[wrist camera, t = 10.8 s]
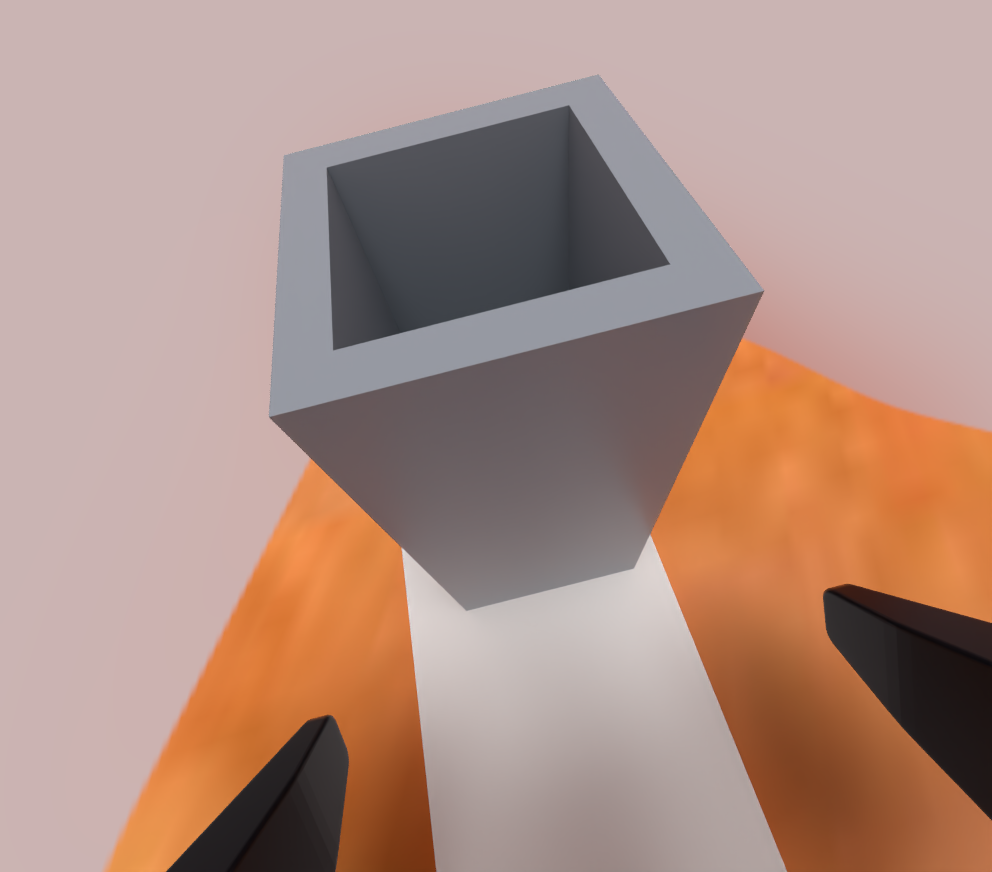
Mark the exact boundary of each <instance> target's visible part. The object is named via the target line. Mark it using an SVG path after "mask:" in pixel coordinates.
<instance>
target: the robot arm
mask: <svg viewBox="0 0 992 872" xmlns="http://www.w3.org/2000/svg"><path fill="white" fill-rule="evenodd" d="M823 602H824V613H825V623H826V630H827V633H828V636H829V638H830V640H831V641H832V643H833V644H834V645H835V647H836V648H837V649H838V650H839V651H840V653H841V654H842V655H843V656H844V658H845V659H846V660H847V661H848V662H849V664H850V665H851V666H852V667H853V669H854V670H855V671H856V672H857V673H858V675H859V676H860V677H861V678H862V680H863V681H864V682H865V683H866V684H867V686H868V687H869V688H870V689H871V691H872V692H873V693H874V694H875V695H876V697H877V698H878V699H879V700H880V702H881V703H882V704H883V705H884V706H885V708H886V709H887V710H888V711H889V712H890V714H891V715H892V716H893V717H894V718H895V719H896V721H897V722H898V723H899V724H900V725H901V726H902V727H903V729H904V730H905V731H906V732H907V733H908V734H909V735H910V736H911V737H912V738H913V739H914V740H915V741H916V742H917V743H918V744H919V746H920V747H921V748H922V749H923V750H924V751H925V752H926V753H927V754H928V755H929V756H930V757H931V758H932V759H933V760H934V761H935V762H936V763H937V764H938V765H939V766H940V767H941V768H942V769H943V770H944V771H945V772H946V773H947V774H948V776H949V777H950V778H951V779H952V780H953V781H954V782H955V783H956V784H957V785H958V786H959V787H960V788H961V789H962V790H963V791H964V792H965V793H966V794H967V795H968V796H969V797H970V798H971V799H972V800H973V801H974V802H975V803H976V804H977V806H978V807H979V808H980V809H981V810H982V811H983V812H984V813H985V814H986V815H987V816H988V817H989V818H990V819H991V820H992V623H989V622H986V621H982V620H978V619H975V618H971V617H968V616H964V615H960V614H957V613H953V612H949V611H946V610H942V609H939V608H935V607H931V606H928V605H924V604H921V603H917V602H913V601H910V600H906V599H902V598H899V597H895V596H892V595H888V594H884V593H881V592H877V591H873V590H870V589H866V588H863V587H859V586H855V585H852V584H844V585H840V586H836V587H832V588H828V589H826V590H825V591H824V594H823ZM348 766H349V757H348V751H347V748H346V745H345V743H344V740H343V738H342V735H341V733H340V730H339V728H338V725H337V723H336V720H335V719H334V717H333V716H331V715H325V716H321V717H317V718H313V719H310V720H308V721H307V722H306V723H305V724H304V725H303V726H302V727H301V728H300V729H299V730H298V731H297V732H296V733H295V734H294V735H293V737H292V738H291V739H290V740H289V741H288V742H287V743H286V744H285V745H284V746H283V747H282V748H281V749H280V750H279V752H278V753H277V754H276V755H275V756H274V757H273V758H272V759H271V760H270V761H269V762H268V763H267V764H266V765H265V766H264V768H263V769H262V770H261V771H260V772H259V773H258V774H257V775H256V776H255V777H254V778H253V779H252V780H251V781H250V783H249V784H248V785H247V786H246V787H245V788H244V789H243V790H242V791H241V792H240V793H239V794H238V795H237V796H236V797H235V799H234V800H233V801H232V802H231V803H230V804H229V805H228V806H227V807H226V808H225V809H224V810H223V811H222V812H221V814H220V815H219V816H218V817H217V818H216V819H215V820H214V821H213V822H212V823H211V824H210V825H209V826H208V827H207V828H206V830H205V831H204V832H203V833H202V834H201V835H200V836H199V837H198V838H197V839H196V840H195V841H194V842H193V843H192V845H191V846H190V847H189V848H188V849H187V850H186V851H185V852H184V853H183V854H182V855H181V856H180V857H179V858H178V859H177V861H176V862H175V863H174V864H173V865H172V866H171V867H170V868H169V869H168V870H167V871H166V872H335V870H336V864H337V857H338V850H339V842H340V833H341V825H342V817H343V808H344V800H345V792H346V783H347V775H348Z"/></svg>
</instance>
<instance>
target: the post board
mask: <svg viewBox="0 0 992 872" xmlns="http://www.w3.org/2000/svg"><path fill="white" fill-rule="evenodd" d="M402 556H403V565H404V574H405V583H406V593H407V602H408V611H409V621H410V630H411V639H412V649H413V658H414V667H415V677H416V686H417V695H418V705H419V714H420V723H421V733H422V742H423V751H424V761H425V770H426V779H427V789H428V798H429V807H430V817H431V826H432V835H433V845H434V854H435V863H436V872H787V870H786V868H785V865H784V863H783V860H782V858H781V855H780V853H779V850H778V848H777V845H776V843H775V841H774V838H773V836H772V833H771V831H770V828H769V826H768V823H767V821H766V818H765V816H764V813H763V811H762V809H761V806H760V804H759V801H758V799H757V796H756V794H755V791H754V789H753V786H752V784H751V781H750V779H749V777H748V774H747V772H746V769H745V767H744V764H743V762H742V759H741V757H740V754H739V752H738V749H737V747H736V744H735V742H734V740H733V737H732V735H731V732H730V730H729V727H728V725H727V722H726V720H725V717H724V715H723V712H722V710H721V708H720V705H719V703H718V700H717V698H716V695H715V693H714V690H713V688H712V685H711V683H710V680H709V678H708V676H707V673H706V671H705V668H704V666H703V663H702V661H701V658H700V656H699V653H698V651H697V648H696V646H695V644H694V641H693V639H692V636H691V634H690V631H689V629H688V626H687V624H686V621H685V619H684V616H683V614H682V611H681V609H680V607H679V604H678V602H677V599H676V597H675V594H674V592H673V589H672V587H671V584H670V582H669V579H668V577H667V575H666V572H665V570H664V567H663V565H662V562H661V560H660V557H659V555H658V552H657V550H656V547H655V545H654V543H653V540H652V538H651V535H649V538H648V540H647V542H646V544H645V546H644V548H643V550H642V553H641V555H640V557H639V559H638V561H637V563H636V565H635V567H634V569H630V570H626V571H622V572H618V573H614V574H611V575H607V576H603V577H599V578H595V579H591V580H587V581H583V582H579V583H575V584H571V585H567V586H563V587H559V588H555V589H551V590H547V591H543V592H539V593H535V594H531V595H528V596H524V597H520V598H516V599H512V600H508V601H504V602H500V603H496V604H492V605H488V606H484V607H480V608H476V609H472V610H468V611H466V610H465V609H464V608H463V607H462V606H461V605H460V604H459V603H458V602H457V601H456V600H455V599H454V598H453V597H452V596H451V595H450V594H449V593H448V592H447V591H446V590H445V589H444V588H443V587H441V586H440V585H439V584H438V583H437V582H436V581H435V580H434V579H433V578H432V577H431V576H430V575H429V574H428V573H427V572H426V571H425V570H424V569H423V568H422V567H421V566H420V565H419V564H418V563H417V562H416V561H415V560H414V559H413V558H412V557H411V556H410V555H409V554H408V553H407V552H406V551H405V550H404V549H403V548H402Z"/></svg>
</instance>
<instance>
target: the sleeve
mask: <svg viewBox="0 0 992 872" xmlns="http://www.w3.org/2000/svg"><path fill="white" fill-rule="evenodd" d="M282 181H283V182H282V199H281V215H280V233H279V250H278V268H277V285H276V303H275V321H274V338H273V356H272V374H271V391H270V408H269V409H270V410H269V417H270V418H271V419H272V420H273V421H274V422H275V423H276V424H277V425H278V426H279V427H280V428H281V429H282V430H283V431H284V432H285V433H286V434H287V435H288V436H289V437H290V438H291V439H292V440H293V441H294V442H295V443H296V444H297V445H298V446H299V447H300V448H301V449H302V450H303V451H304V452H305V453H306V454H307V455H308V456H309V457H310V458H311V459H312V460H313V461H314V462H315V463H316V464H317V465H318V466H319V467H320V468H321V469H322V470H323V471H324V472H325V473H326V474H327V475H328V476H330V477H331V478H332V479H333V480H334V481H335V482H336V483H337V484H338V485H339V486H340V487H341V488H342V489H343V490H344V491H345V492H346V493H347V494H348V495H349V496H350V497H351V498H352V499H353V500H354V501H355V502H356V503H357V504H358V505H359V506H360V507H361V508H362V509H363V510H364V511H365V512H366V513H367V514H368V515H369V516H370V517H371V518H372V519H373V520H374V521H375V522H376V523H377V524H378V525H379V526H380V527H381V528H382V529H383V530H384V531H385V532H387V533H388V534H389V535H390V536H391V537H392V538H393V539H394V540H395V541H396V542H397V543H398V544H399V545H400V546H401V547H402V548H403V549H404V550H405V551H406V552H407V553H408V554H409V555H410V556H411V557H412V558H413V559H414V560H415V561H416V562H417V563H418V564H419V565H420V566H421V567H422V568H423V569H424V570H425V571H426V572H427V573H428V574H429V575H430V576H431V577H432V578H433V579H434V580H435V581H436V582H437V583H438V584H439V585H440V586H441V587H443V588H444V589H445V590H446V591H447V592H448V593H449V594H450V595H451V596H452V597H453V598H454V599H455V600H456V601H457V602H458V603H459V604H460V605H461V606H462V607H463V608H464V609H465V610H466V611H468V610H472V609H476V608H480V607H484V606H488V605H492V604H496V603H500V602H504V601H508V600H512V599H516V598H520V597H524V596H528V595H531V594H535V593H539V592H543V591H547V590H551V589H555V588H559V587H563V586H567V585H571V584H575V583H579V582H583V581H587V580H591V579H595V578H599V577H603V576H607V575H611V574H614V573H618V572H622V571H626V570H630V569H634V567H635V565H636V563H637V561H638V559H639V557H640V555H641V553H642V550H643V548H644V546H645V544H646V542H647V540H648V538H649V535H650V533H651V531H652V529H653V527H654V525H655V523H656V521H657V518H658V516H659V514H660V512H661V510H662V508H663V506H664V503H665V501H666V499H667V497H668V495H669V493H670V491H671V489H672V486H673V484H674V482H675V480H676V478H677V476H678V474H679V471H680V469H681V467H682V465H683V463H684V461H685V459H686V457H687V454H688V452H689V450H690V448H691V446H692V444H693V442H694V439H695V437H696V435H697V433H698V431H699V429H700V427H701V425H702V422H703V420H704V418H705V416H706V414H707V412H708V410H709V407H710V405H711V403H712V401H713V399H714V397H715V395H716V393H717V390H718V388H719V386H720V384H721V382H722V380H723V378H724V375H725V373H726V371H727V369H728V367H729V365H730V363H731V361H732V358H733V356H734V354H735V352H736V350H737V348H738V346H739V343H740V341H741V339H742V337H743V335H744V333H745V331H746V329H747V326H748V324H749V322H750V320H751V318H752V316H753V314H754V311H755V309H756V307H757V305H758V303H759V300H760V299H761V297H762V294H763V292H764V290H763V289H762V287H761V286H760V285H759V283H758V282H757V281H756V279H755V278H754V277H753V276H752V274H751V273H750V272H749V270H748V269H747V268H746V266H745V265H744V264H743V262H742V261H741V260H740V259H739V257H738V256H737V255H736V253H735V252H734V251H733V249H732V248H731V247H730V246H729V244H728V243H727V242H726V240H725V239H724V238H723V236H722V235H721V234H720V232H719V231H718V230H717V229H716V227H715V226H714V225H713V223H712V222H711V221H710V219H709V218H708V217H707V215H706V214H705V213H704V212H703V211H702V209H701V208H700V206H699V205H698V204H697V202H696V201H695V200H694V198H693V197H692V196H691V195H690V193H689V192H688V191H687V189H686V188H685V187H684V186H683V184H682V183H681V182H680V180H679V179H678V178H677V176H676V175H675V174H674V173H673V171H672V170H671V168H670V167H669V166H668V165H667V163H666V162H665V161H664V159H663V158H662V157H661V155H660V154H659V153H658V152H657V150H656V149H655V148H654V146H653V145H652V144H651V142H650V141H649V140H648V138H647V137H646V136H645V135H644V133H643V132H642V131H641V130H640V128H639V127H638V125H637V124H636V123H635V121H634V120H633V119H632V118H631V116H630V115H629V114H628V112H627V111H626V110H625V108H624V107H623V106H622V105H621V103H620V102H619V101H618V99H617V98H616V97H615V96H614V94H613V93H612V91H611V90H610V89H609V88H608V86H607V85H606V84H605V82H604V81H603V80H602V78H601V77H600V76H599V75H595V76H591V77H587V78H583V79H579V80H575V81H572V82H568V83H564V84H560V85H556V86H552V87H548V88H544V89H540V90H537V91H533V92H529V93H525V94H521V95H517V96H513V97H510V98H505V99H502V100H498V101H494V102H490V103H486V104H482V105H478V106H474V107H470V108H467V109H463V110H459V111H455V112H451V113H447V114H443V115H439V116H435V117H432V118H428V119H424V120H420V121H416V122H412V123H408V124H404V125H400V126H397V127H393V128H389V129H385V130H381V131H377V132H373V133H369V134H366V135H362V136H358V137H354V138H350V139H346V140H342V141H338V142H335V143H330V144H327V145H323V146H319V147H315V148H311V149H307V150H303V151H299V152H295V153H292V154H288V155H284V164H283V180H282Z"/></svg>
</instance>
